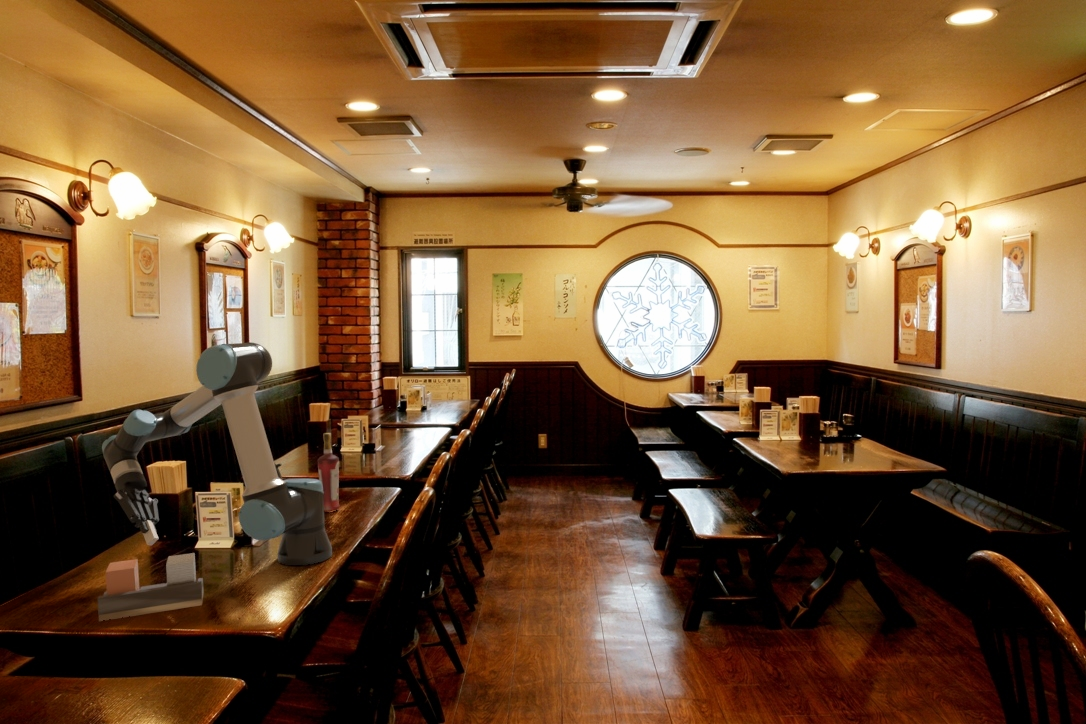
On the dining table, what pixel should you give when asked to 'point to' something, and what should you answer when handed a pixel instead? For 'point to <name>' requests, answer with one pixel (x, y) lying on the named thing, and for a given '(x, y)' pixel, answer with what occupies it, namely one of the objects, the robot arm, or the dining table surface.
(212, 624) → the dining table surface
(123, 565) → the terracotta plunger
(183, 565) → the gray block
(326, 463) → the liquor
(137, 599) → the base
